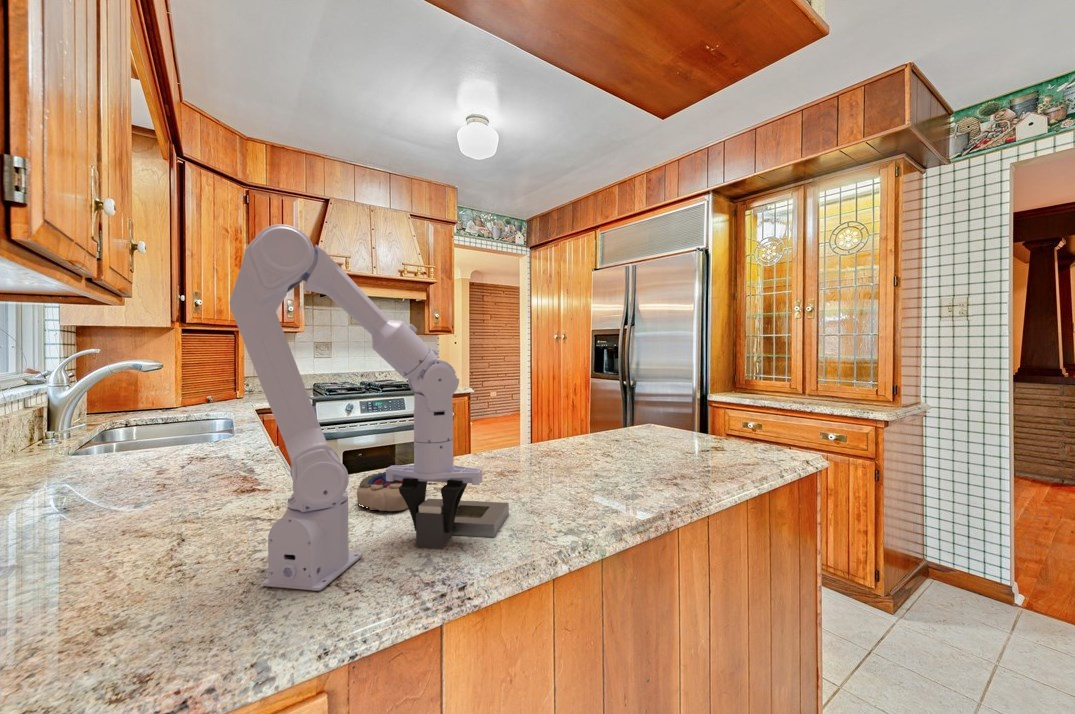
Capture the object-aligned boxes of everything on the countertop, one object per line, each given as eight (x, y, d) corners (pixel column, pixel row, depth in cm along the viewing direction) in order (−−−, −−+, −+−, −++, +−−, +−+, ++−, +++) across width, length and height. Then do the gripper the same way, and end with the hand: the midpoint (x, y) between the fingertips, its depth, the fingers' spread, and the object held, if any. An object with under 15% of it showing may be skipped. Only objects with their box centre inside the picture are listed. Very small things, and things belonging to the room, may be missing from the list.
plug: (442, 549, 65) (441, 507, 65) (416, 547, 65) (415, 506, 65) (451, 537, 69) (451, 498, 69) (427, 536, 69) (426, 497, 69)
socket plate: (494, 537, 69) (494, 520, 69) (426, 533, 70) (426, 516, 70) (508, 514, 78) (508, 499, 78) (449, 510, 80) (449, 496, 80)
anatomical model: (430, 488, 95) (430, 466, 95) (412, 516, 79) (411, 489, 78) (372, 489, 94) (372, 467, 94) (342, 517, 78) (342, 490, 78)
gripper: (487, 435, 70) (488, 522, 70) (400, 433, 72) (401, 517, 72) (474, 445, 63) (474, 541, 63) (378, 442, 65) (379, 534, 65)
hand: (434, 529), depth 67 cm, fingers closed on plug, 4 cm apart
